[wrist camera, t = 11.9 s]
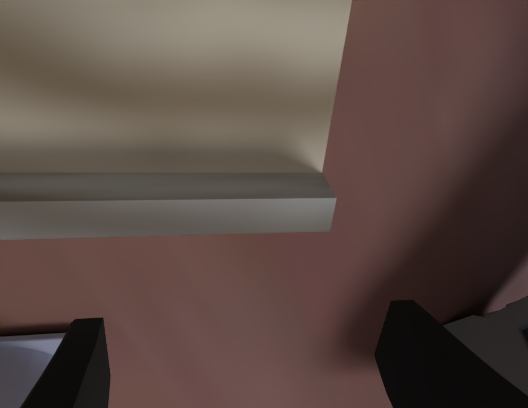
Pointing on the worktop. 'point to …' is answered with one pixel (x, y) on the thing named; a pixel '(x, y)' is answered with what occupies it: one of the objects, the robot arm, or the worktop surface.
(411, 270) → the worktop surface
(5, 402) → the robot arm
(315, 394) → the worktop surface
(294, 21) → the board
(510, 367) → the gun
